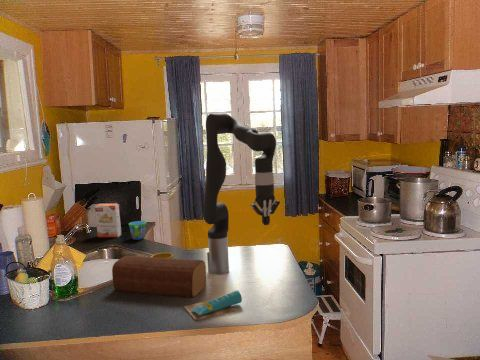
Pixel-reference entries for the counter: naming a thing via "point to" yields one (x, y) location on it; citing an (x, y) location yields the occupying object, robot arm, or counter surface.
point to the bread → (159, 276)
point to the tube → (219, 303)
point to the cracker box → (108, 220)
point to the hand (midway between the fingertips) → (266, 224)
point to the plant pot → (163, 255)
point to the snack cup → (137, 229)
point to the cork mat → (198, 317)
